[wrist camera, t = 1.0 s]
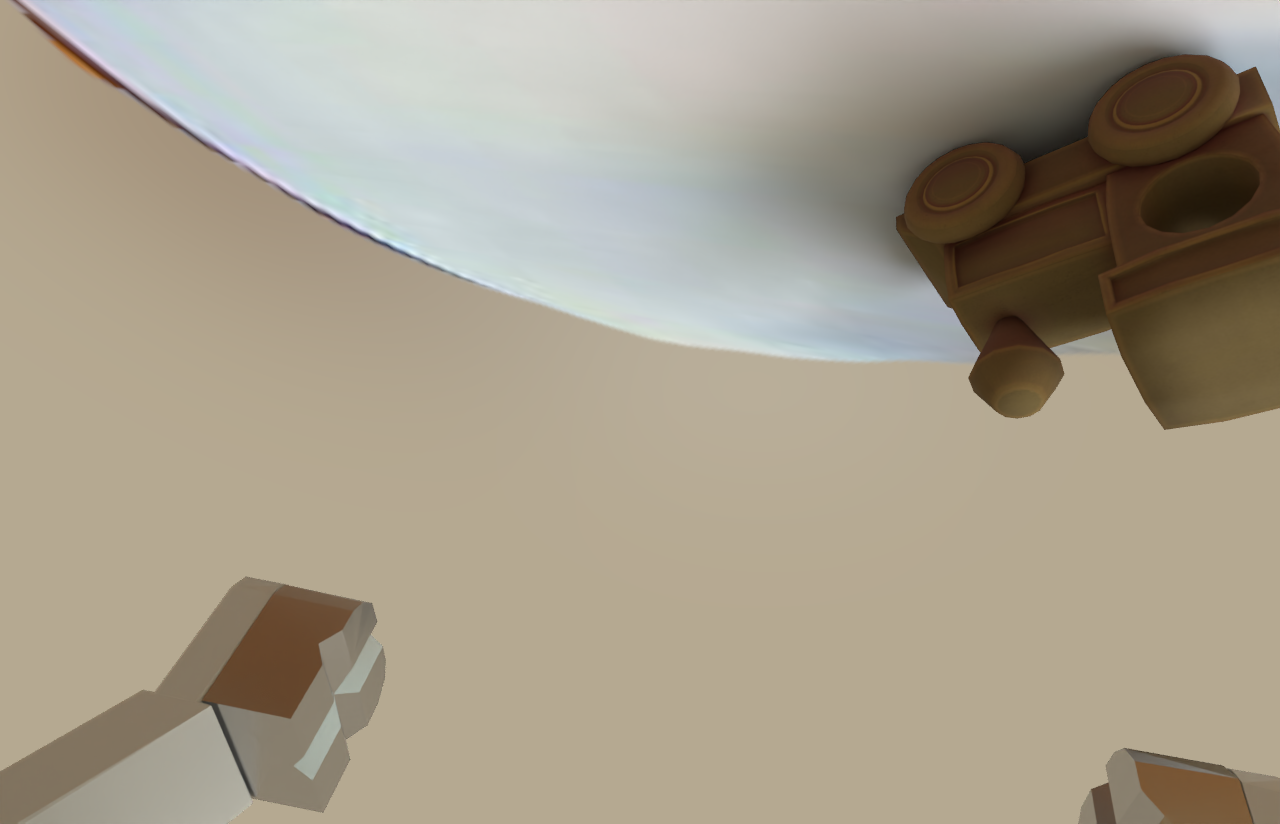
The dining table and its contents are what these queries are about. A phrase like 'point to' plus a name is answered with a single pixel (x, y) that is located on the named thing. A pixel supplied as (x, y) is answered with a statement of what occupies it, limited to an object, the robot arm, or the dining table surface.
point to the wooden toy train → (1121, 246)
